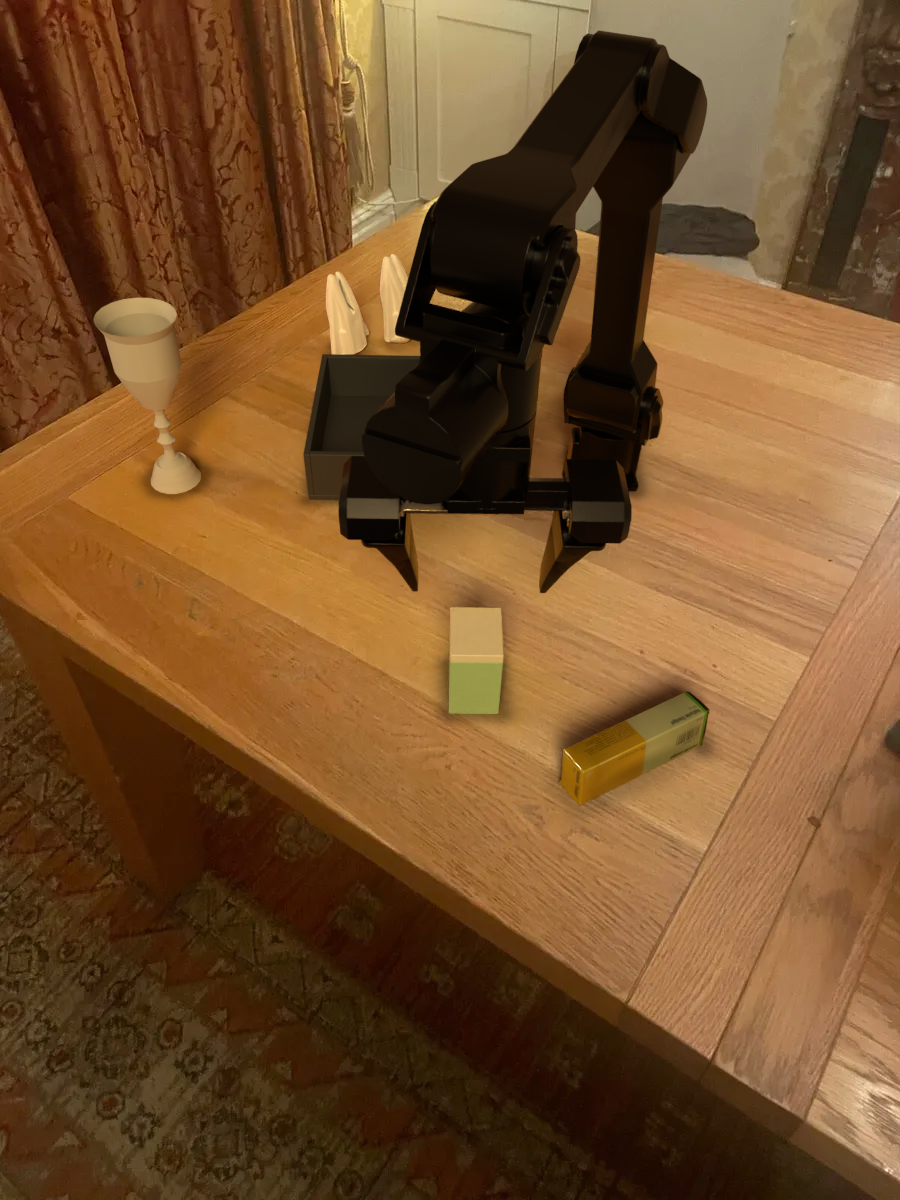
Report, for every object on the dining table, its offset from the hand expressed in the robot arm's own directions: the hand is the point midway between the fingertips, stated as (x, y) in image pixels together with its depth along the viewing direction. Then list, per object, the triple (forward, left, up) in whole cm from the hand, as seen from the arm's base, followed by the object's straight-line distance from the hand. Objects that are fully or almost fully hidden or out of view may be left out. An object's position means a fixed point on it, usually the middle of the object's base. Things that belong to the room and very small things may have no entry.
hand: (478, 588), depth 66 cm
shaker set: (+11, -54, -12) cm, 56 cm away
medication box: (-12, +7, -12) cm, 18 cm away
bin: (+9, -33, -12) cm, 36 cm away
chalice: (+30, -27, -12) cm, 42 cm away
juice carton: (0, 0, -12) cm, 12 cm away
